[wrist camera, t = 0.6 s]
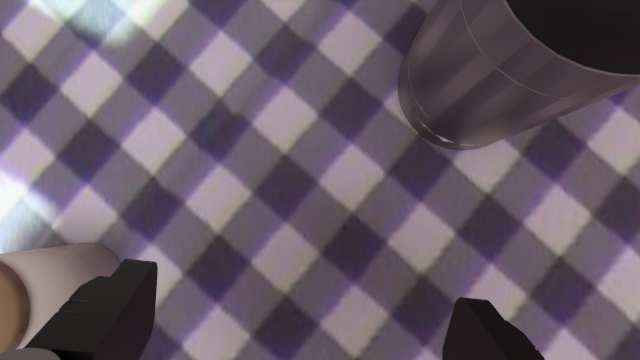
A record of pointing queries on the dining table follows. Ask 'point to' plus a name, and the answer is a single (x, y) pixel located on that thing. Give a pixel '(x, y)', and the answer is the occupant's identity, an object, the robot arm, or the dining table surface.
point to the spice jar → (44, 286)
